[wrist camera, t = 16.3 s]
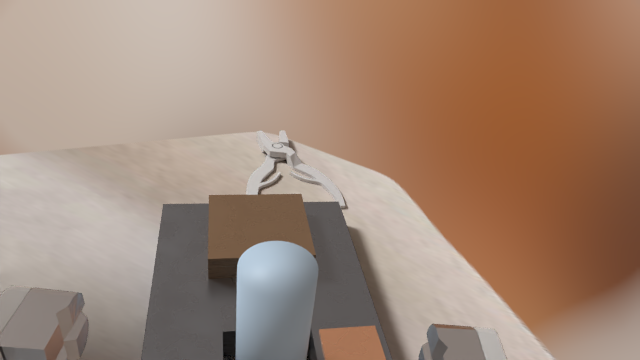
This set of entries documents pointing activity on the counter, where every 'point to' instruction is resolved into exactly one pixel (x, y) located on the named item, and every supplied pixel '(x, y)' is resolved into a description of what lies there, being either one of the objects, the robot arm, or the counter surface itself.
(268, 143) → the pliers
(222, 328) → the rack
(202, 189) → the counter surface
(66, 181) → the counter surface
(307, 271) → the peg
